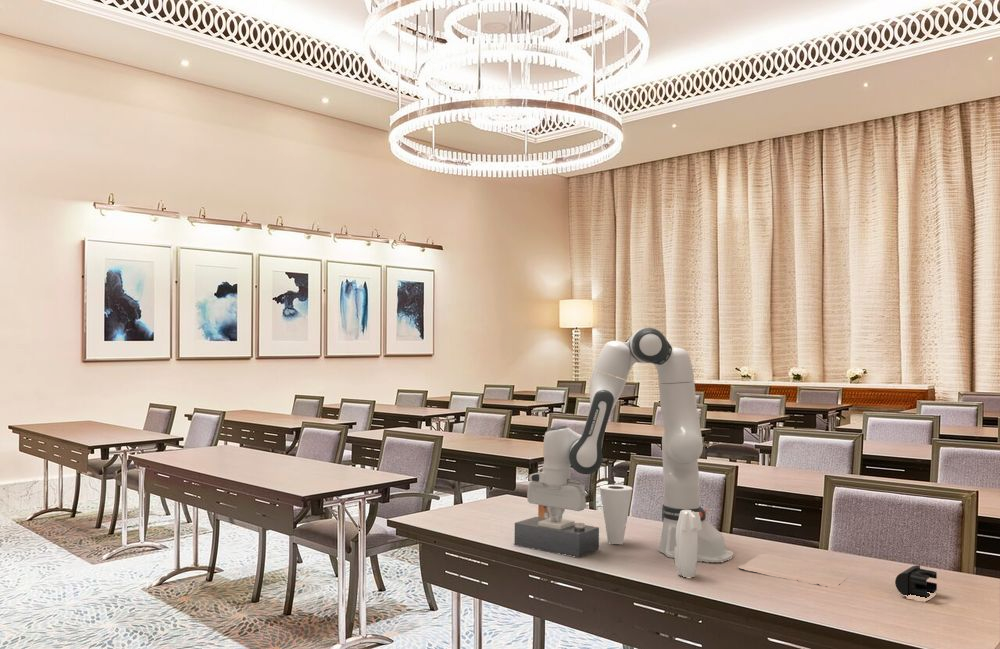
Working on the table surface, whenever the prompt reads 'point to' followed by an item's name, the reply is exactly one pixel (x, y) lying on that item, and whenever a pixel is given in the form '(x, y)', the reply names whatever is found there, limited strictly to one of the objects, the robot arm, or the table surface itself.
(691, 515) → the white spray bottle
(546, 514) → the small box
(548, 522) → the push button
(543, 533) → the console
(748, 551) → the table surface
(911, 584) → the end cap
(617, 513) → the cup
